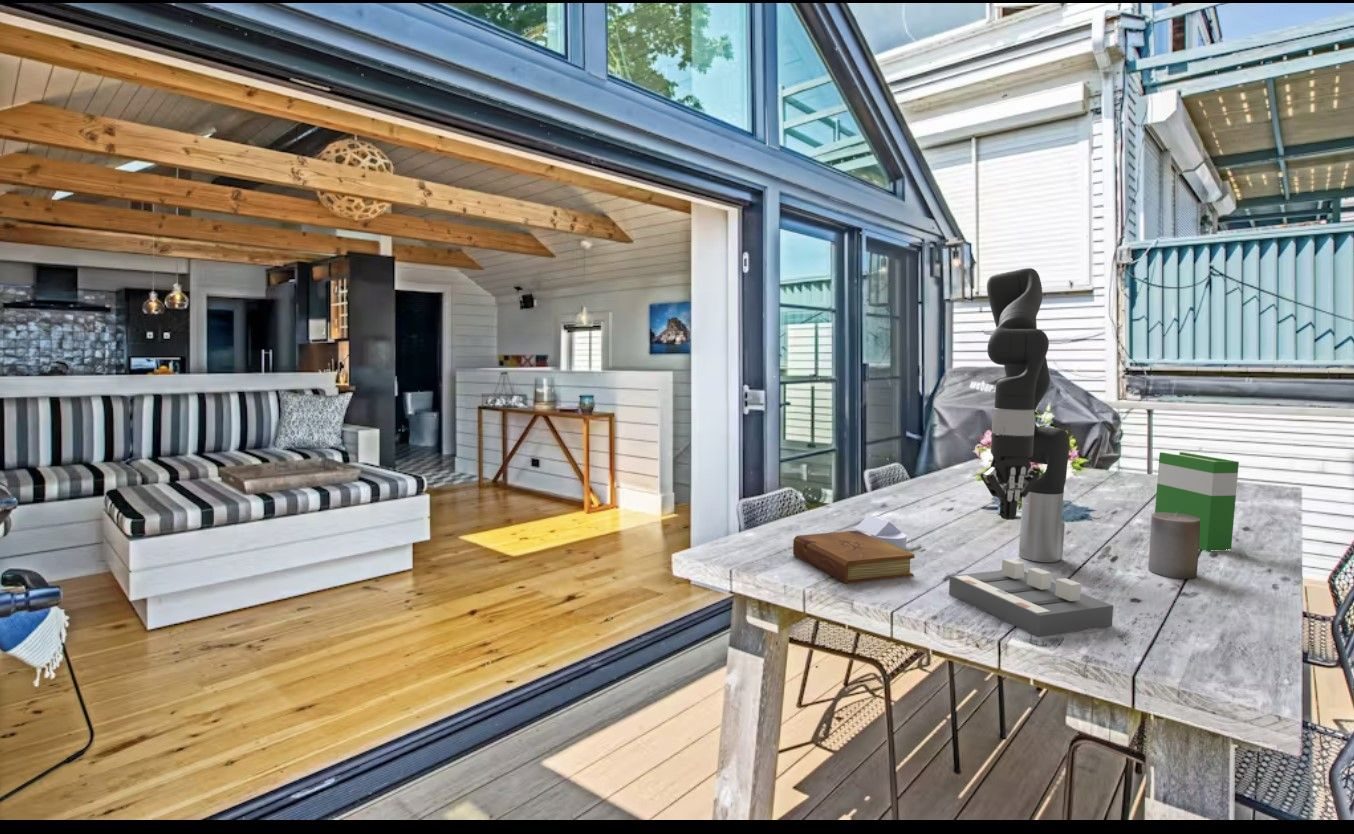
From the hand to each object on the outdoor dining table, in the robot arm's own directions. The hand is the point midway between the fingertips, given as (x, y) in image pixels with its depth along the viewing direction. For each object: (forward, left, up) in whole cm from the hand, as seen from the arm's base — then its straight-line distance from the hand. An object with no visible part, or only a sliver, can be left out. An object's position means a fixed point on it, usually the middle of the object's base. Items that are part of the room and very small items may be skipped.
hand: (1007, 518), depth 142 cm
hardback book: (-92, -28, -19) cm, 98 cm away
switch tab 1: (-9, -7, -15) cm, 18 cm away
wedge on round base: (-7, -50, -19) cm, 54 cm away
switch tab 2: (-9, 0, -15) cm, 17 cm away
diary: (+12, -36, -20) cm, 43 cm away
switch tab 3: (-9, +7, -15) cm, 18 cm away
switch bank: (-6, 0, -19) cm, 20 cm away
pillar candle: (-59, -9, -19) cm, 63 cm away
